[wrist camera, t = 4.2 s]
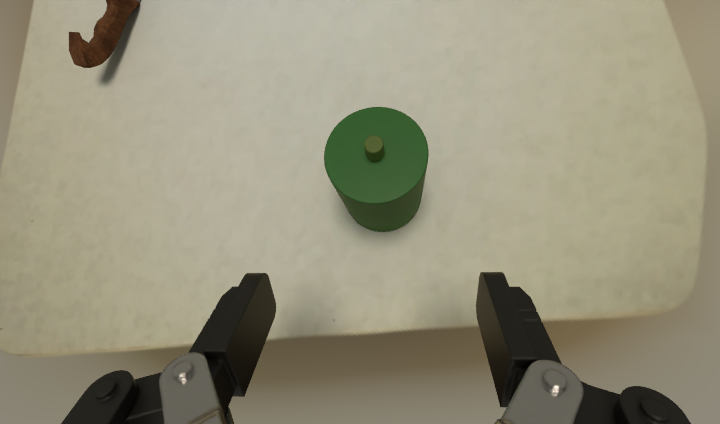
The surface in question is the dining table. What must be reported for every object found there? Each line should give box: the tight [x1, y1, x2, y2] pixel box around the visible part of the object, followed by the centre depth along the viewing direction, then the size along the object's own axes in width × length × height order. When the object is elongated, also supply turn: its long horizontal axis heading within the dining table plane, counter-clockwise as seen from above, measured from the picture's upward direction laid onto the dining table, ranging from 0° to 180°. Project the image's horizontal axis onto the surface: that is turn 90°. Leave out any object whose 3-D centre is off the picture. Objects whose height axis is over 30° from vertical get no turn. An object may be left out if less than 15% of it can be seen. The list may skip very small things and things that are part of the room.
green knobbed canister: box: [324, 107, 428, 232], centre depth 22 cm, size 6×6×9 cm
